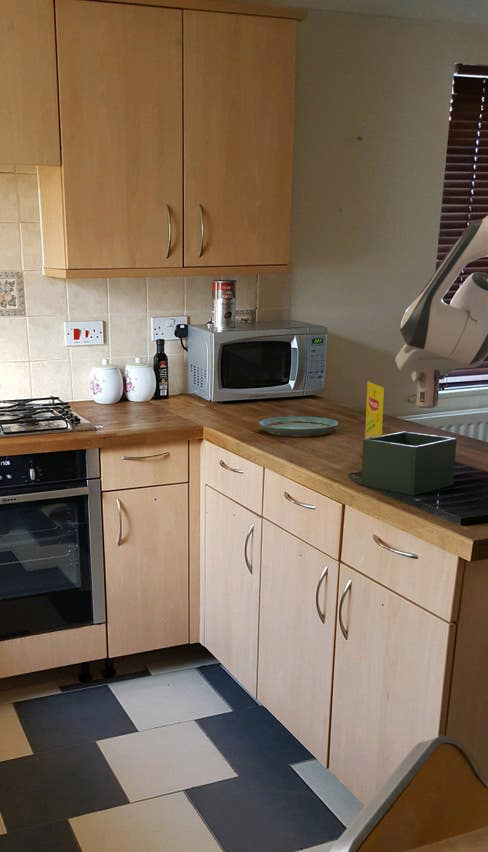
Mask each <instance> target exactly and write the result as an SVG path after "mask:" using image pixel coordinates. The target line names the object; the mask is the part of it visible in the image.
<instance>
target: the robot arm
mask: <svg viewBox="0 0 488 852" xmlns="http://www.w3.org/2000/svg"><path fill="white" fill-rule="evenodd" d="M487 257H488V215H486V216H485V217H484V218H482V219H481V218H480V219H475V220H473V221H472V222H471V223H470V224H469V225H467V227H466V228H465V229H464V230H463V231H462V232H461V234H460V235H459V236H458V238H457V239H456V241H455V242H454V244H453V245H452V247H451V248H450V249H449V251H448V252H447V254H446V255H445V257H444V258H443V259H442V261H441V263H440V264H439V266H438V267H437V268H436V270H435V271H434V273H432V276H431V278H430V279H429V280H428V282H427V283H426V284H425V286H424V288H423V289H422V290H421V292H420V293H419V294H418V296H417V297H416V299H415V300H414V301H412V303H411V304H410V305H409V306H408V308H407V309H406V310H405V312H404V314H403V316H402V318H401V321H400V327H399V332H400V335H401V337H402V339H403V341H404V342H405V344H404V345H403V347H402V348H401V349H400V350H399V352H398V354H397V355H396V357H395V358H394V359H395V363H396V366H397V368H398V370H399V371H400V372H401V373H408V372H412V373H411V380H412V381H413V382H417V381H420V379H421V378H422V374H421V372H422V371H427V370H440V376H439V381H440V380H444V379H445V378H446V376H448V375H450V374H451V373H453V372H454V371H455V370H456V369H457V370H459V369H473V368H476V367H479V366H480V365H481V364H482V363H483V362H484V360H485V359H486V358H487V355H488V273H486V272H483V271H476V272H473V273H471V274H470V275H469V276H468V277H467V278H466V279H465V281H463V283H462V284H461V285H460V286H459V288H458V289H457V291H456V292H455V294H454V295H453V297H452V299H451V300H450V303H449V304H448V303H446V302H444V300H443V299H444V297H445V295H446V294H447V293H448V291H449V290H450V288H451V287H452V285H453V284H454V282H455V281H456V280H457V278H458V277H459V276H460V274H461V272H462V271H463V269H464V268H465V267H466V266H467V265H468V264H470V263H471V262H473V261H475V260H478V259H481V258H487Z"/></svg>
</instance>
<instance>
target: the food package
mask: <svg viewBox="0 0 488 852" xmlns="http://www.w3.org/2000/svg"><path fill="white" fill-rule="evenodd" d="M384 399H385V388H384V387H383V386H380V385H378V384H375V383H373V382H370V381H367V384H366V406H365V407H366V409H365V428H364V429H365V431H364V439H368V438H373V437H378V436H383V422H384V421H383V418H384Z"/></svg>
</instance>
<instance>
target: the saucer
mask: <svg viewBox="0 0 488 852" xmlns="http://www.w3.org/2000/svg"><path fill="white" fill-rule="evenodd" d="M290 421H291V422H292V421H301V422H302V421H303V422H316V423H317V422H318V423H323V424H327V425H330V426H327V425H322V424H311V423H290V424H278V425H272V426H266V425H268V424H272V423H277V422H290ZM338 423H339V422H338V421H336V420H335V419H330V418H325V417H319V416H318V417H315V416H280V417H271V418H266V419H262V420H260V421H259V425H260V427H261V428H262V430H263V431H264V432H266V433H267V434H268V435H272V436H277V437H283V438H284V437H285V438H310V437H319V436H320V437H321V436H325V435H328V434H330V433H331V432H333V431H334V430H335V429H336V427H337V426H338ZM267 431H268V432H267ZM271 432H273V433H271ZM278 433H280V434H278Z"/></svg>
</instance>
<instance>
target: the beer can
mask: <svg viewBox="0 0 488 852" xmlns="http://www.w3.org/2000/svg"><path fill="white" fill-rule="evenodd" d="M421 374H422V378H421V379H420V381H416V401H415V406H416V407H418V408H420V409H434V408H436V407H437V406H439V391H440V388H439V387H440V380H439V376H440V370H427V371H422V372H421Z"/></svg>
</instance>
